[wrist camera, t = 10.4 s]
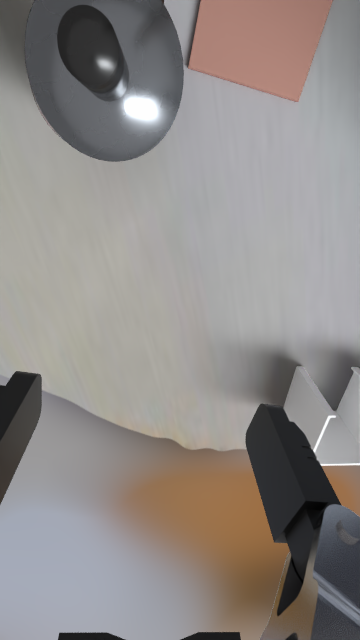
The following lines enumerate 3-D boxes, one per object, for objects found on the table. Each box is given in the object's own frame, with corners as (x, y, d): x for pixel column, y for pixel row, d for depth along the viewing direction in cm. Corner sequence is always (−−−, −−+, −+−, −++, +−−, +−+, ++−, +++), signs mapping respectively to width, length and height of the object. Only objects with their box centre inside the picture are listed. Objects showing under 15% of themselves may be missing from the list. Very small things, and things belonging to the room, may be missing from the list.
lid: (199, 0, 20) (215, -67, 14) (166, 175, 25) (168, 182, 19) (29, -61, 18) (-37, -168, 12) (31, 141, 23) (-15, 137, 17)
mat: (352, -63, 26) (355, -66, 25) (296, 102, 31) (298, 101, 31) (222, -118, 24) (223, -122, 23) (188, 68, 29) (188, 67, 29)
